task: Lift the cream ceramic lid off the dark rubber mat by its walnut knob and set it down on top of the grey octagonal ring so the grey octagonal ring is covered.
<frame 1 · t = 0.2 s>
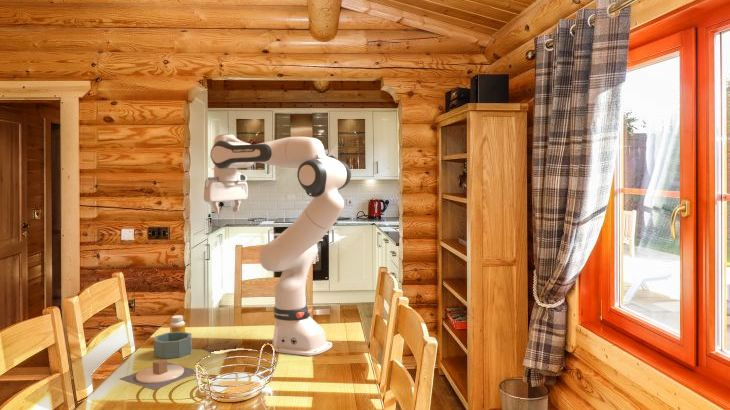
hand: (227, 212, 210), 48 cm above the table, tool pointing down, fingers open, 8 cm apart
grey octagonal ring: (173, 353, 189), on the table
lid: (160, 374, 168), resting on mat
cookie: (223, 349, 194), on the table
supplement bottle: (178, 342, 203), on the table
mat: (160, 376, 168), on the table
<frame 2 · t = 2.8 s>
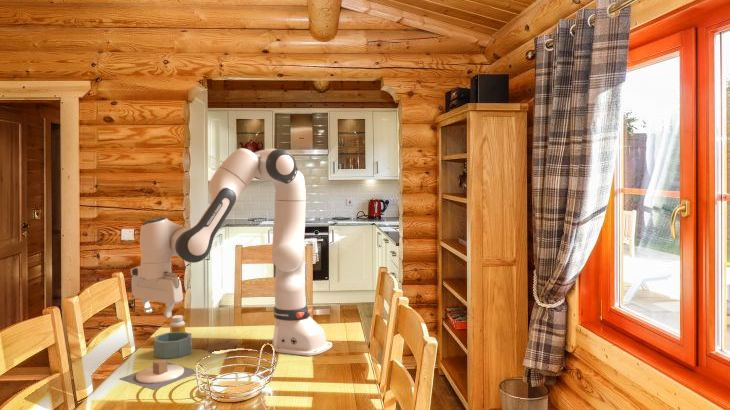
hand: (157, 314, 167), 19 cm above the table, tool pointing down, fingers open, 8 cm apart
nothing on the table moved.
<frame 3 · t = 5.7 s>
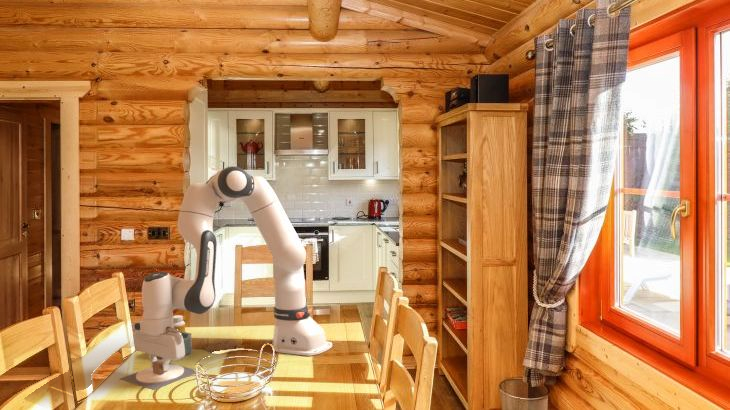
hand: (160, 368, 168), 2 cm above the table, tool pointing down, fingers closed on lid, 3 cm apart
lid: (160, 374, 168), resting on mat, touching gripper
everything else where it was.
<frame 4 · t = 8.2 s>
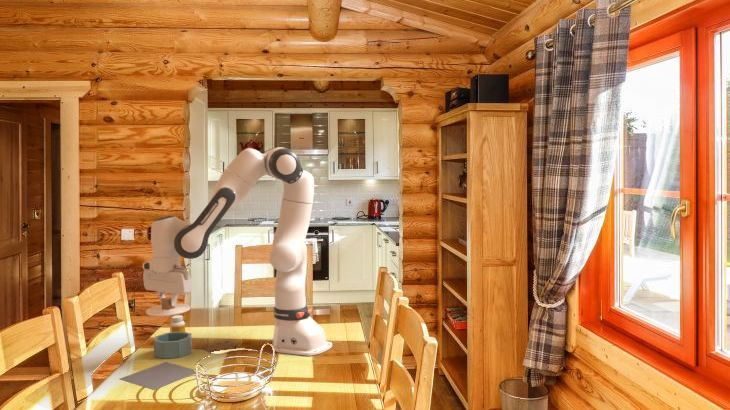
hand: (168, 305, 182), 19 cm above the table, tool pointing down, fingers closed on lid, 3 cm apart
lid: (168, 310, 182), point 17 cm above the table, touching gripper
everything else where it was.
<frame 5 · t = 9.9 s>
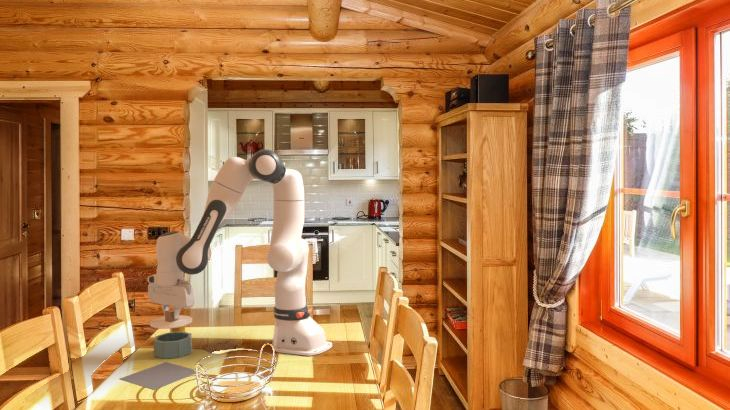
hand: (171, 317, 188), 13 cm above the table, tool pointing down, fingers closed on lid, 3 cm apart
lid: (171, 322, 188), point 11 cm above the table, touching gripper
everything else where it was.
when the fingers open (10 cm above the table, at t = 11.1 s): lid drops 2 cm, resting on grey octagonal ring.
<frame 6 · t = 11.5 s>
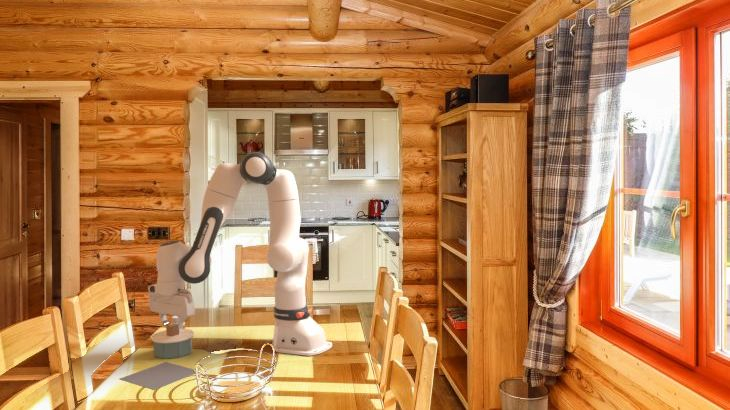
hand: (172, 326, 188), 10 cm above the table, tool pointing down, fingers open, 6 cm apart
lid: (173, 336, 189), point 6 cm above the table, touching grey octagonal ring
everything else where it was.
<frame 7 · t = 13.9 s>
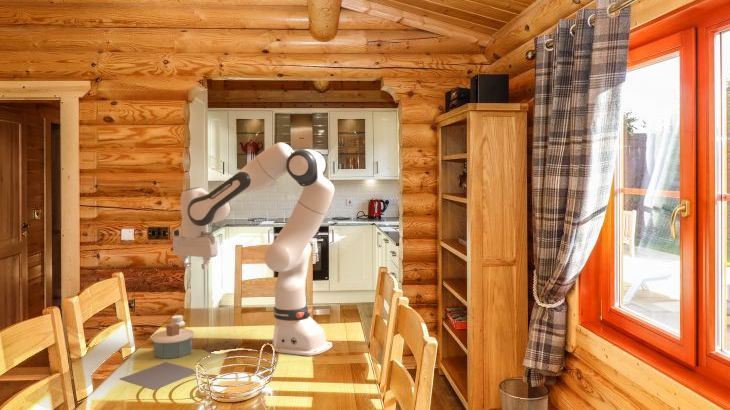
hand: (196, 268, 202), 28 cm above the table, tool pointing down, fingers open, 8 cm apart
nothing on the table moved.
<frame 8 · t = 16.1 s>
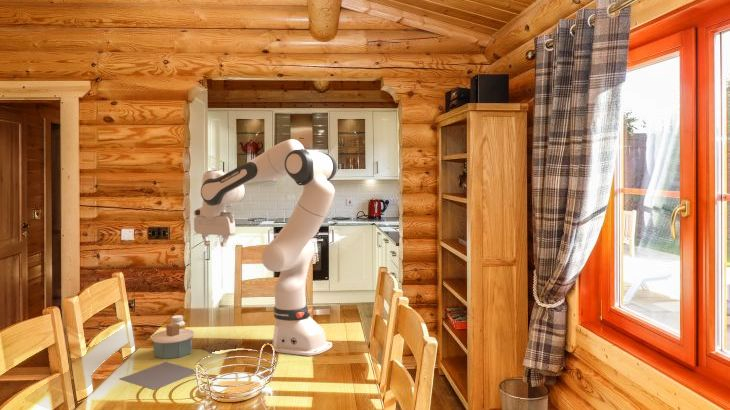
hand: (215, 245, 215), 34 cm above the table, tool pointing down, fingers open, 8 cm apart
nothing on the table moved.
at the end: lid 0.1 cm off-centre on the grey octagonal ring, point 6.0 cm above the grey octagonal ring's base; lid tilted 0°; the gripper is holding nothing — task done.
